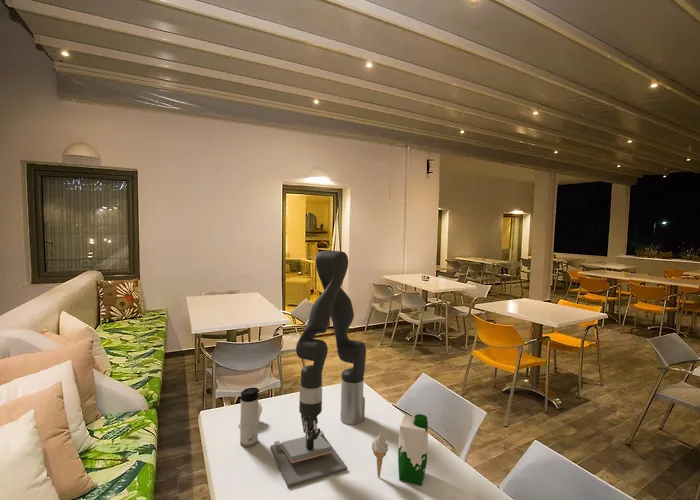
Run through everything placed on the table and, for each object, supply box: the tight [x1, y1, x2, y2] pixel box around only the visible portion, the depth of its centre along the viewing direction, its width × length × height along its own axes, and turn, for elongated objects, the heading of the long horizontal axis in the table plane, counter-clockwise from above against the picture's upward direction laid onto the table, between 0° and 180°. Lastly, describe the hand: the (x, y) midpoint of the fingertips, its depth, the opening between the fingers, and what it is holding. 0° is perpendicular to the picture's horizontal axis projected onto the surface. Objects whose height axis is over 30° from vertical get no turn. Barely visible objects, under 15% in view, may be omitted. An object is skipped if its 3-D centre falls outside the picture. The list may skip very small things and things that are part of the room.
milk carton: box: [397, 413, 429, 487], centre depth 117 cm, size 9×9×20 cm
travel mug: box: [239, 387, 260, 448], centre depth 134 cm, size 6×7×20 cm
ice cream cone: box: [370, 431, 389, 478], centre depth 117 cm, size 6×6×15 cm
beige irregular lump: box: [237, 401, 263, 430], centre depth 146 cm, size 6×8×12 cm
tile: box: [281, 434, 332, 463], centre depth 126 cm, size 14×2×12 cm
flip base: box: [269, 430, 348, 489], centre depth 125 cm, size 20×22×3 cm
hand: (309, 448), depth 123 cm, fingers closed
